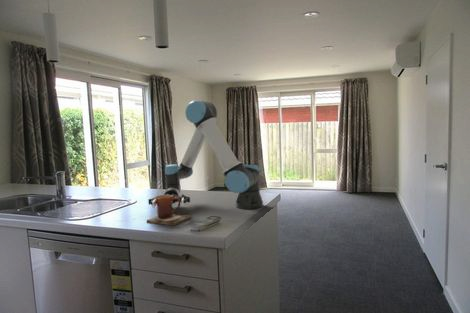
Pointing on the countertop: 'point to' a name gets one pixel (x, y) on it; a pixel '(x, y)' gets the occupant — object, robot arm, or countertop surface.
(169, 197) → the mug
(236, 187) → the robot arm
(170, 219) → the board
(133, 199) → the countertop surface
